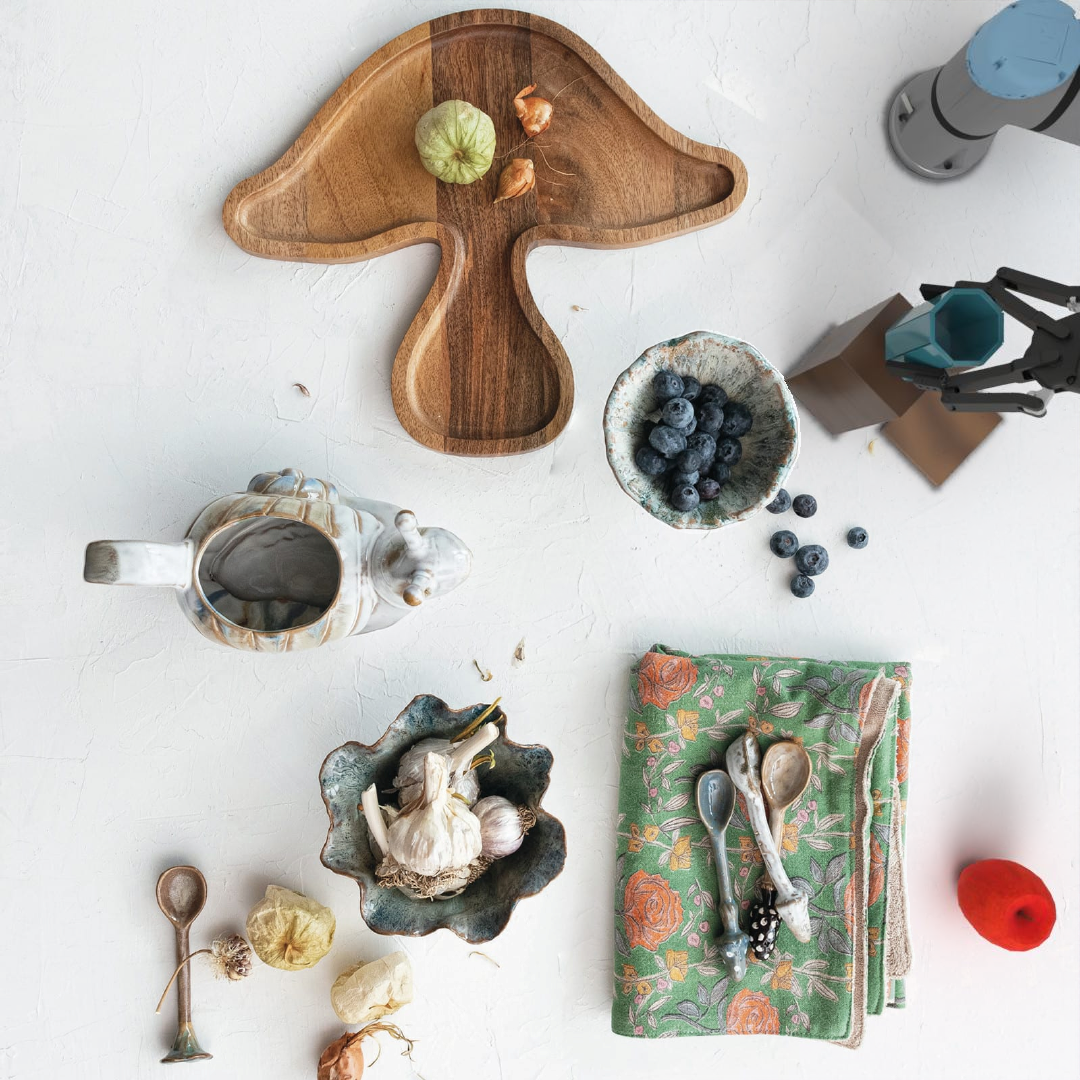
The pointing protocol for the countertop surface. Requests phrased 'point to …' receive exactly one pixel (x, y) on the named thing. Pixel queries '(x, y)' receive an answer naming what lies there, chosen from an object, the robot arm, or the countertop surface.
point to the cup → (948, 332)
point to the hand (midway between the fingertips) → (906, 329)
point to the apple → (1006, 904)
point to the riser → (855, 373)
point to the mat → (938, 435)
